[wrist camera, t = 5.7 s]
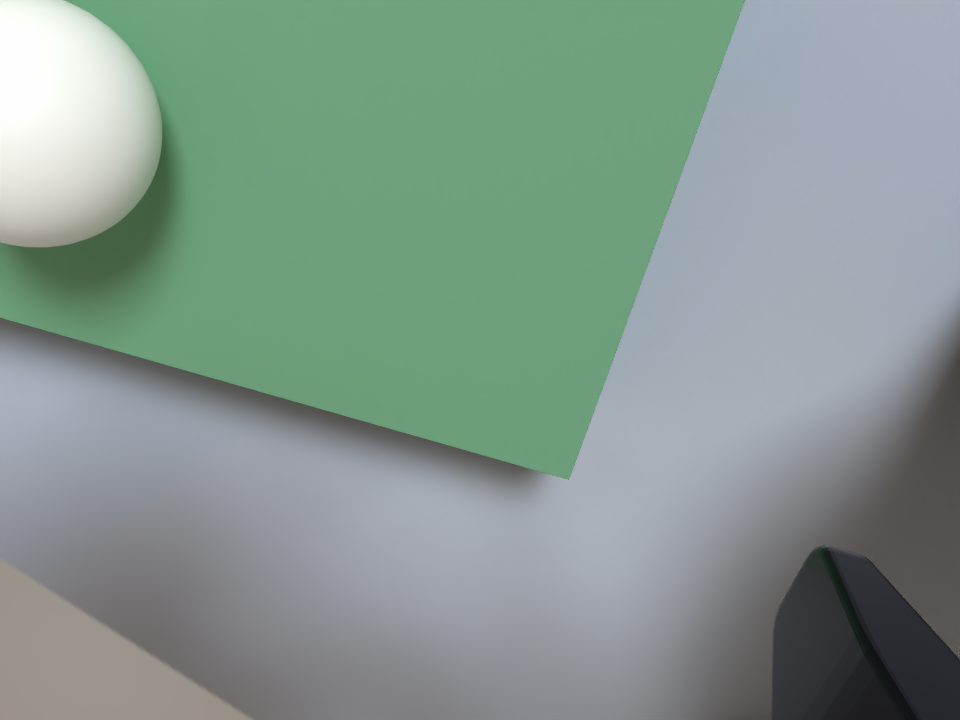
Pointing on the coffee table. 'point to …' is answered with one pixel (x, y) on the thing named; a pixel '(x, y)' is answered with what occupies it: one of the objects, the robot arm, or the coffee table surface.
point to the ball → (70, 125)
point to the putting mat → (394, 205)
